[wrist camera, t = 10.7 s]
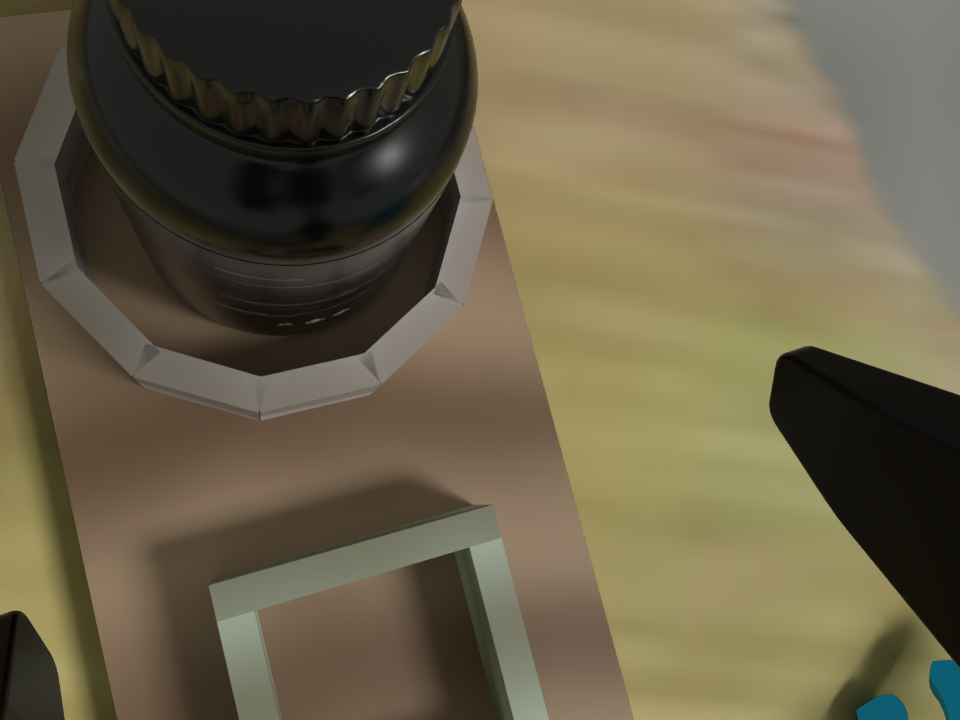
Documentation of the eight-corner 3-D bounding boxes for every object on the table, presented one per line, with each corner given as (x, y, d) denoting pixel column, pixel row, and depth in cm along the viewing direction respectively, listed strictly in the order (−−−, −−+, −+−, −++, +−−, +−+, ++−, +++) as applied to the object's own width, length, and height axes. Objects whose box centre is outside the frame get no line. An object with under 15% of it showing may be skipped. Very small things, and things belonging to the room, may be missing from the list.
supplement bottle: (105, 113, 22) (-64, -309, 11) (367, 69, 24) (465, -331, 12) (174, 375, 22) (74, 228, 10) (437, 309, 23) (608, 122, 12)
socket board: (647, 817, 24) (701, 860, 21) (187, 1004, 20) (174, 1086, 18) (425, -10, 26) (445, -75, 23) (-21, 40, 23) (-62, -27, 20)
